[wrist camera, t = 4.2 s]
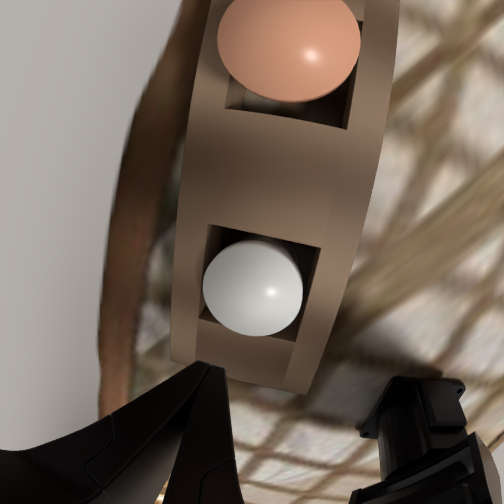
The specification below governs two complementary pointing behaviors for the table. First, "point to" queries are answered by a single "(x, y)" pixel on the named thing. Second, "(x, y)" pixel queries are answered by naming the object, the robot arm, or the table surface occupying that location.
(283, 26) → the terracotta plunger
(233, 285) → the white domed knob
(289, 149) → the walnut panel
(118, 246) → the table surface
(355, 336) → the table surface
